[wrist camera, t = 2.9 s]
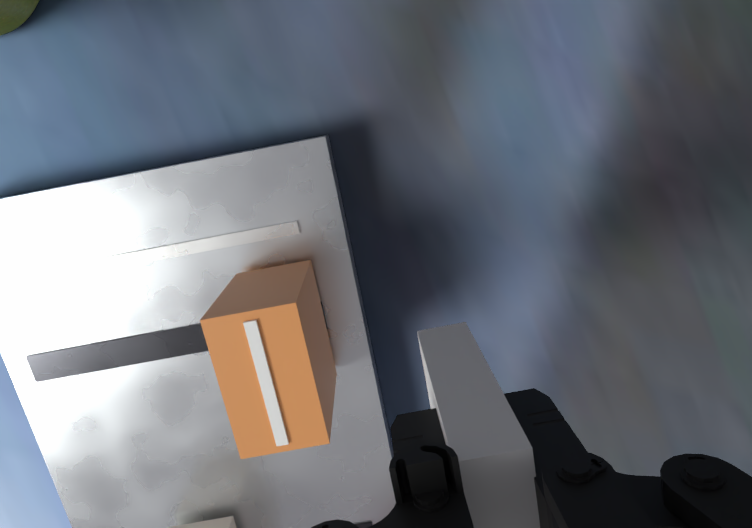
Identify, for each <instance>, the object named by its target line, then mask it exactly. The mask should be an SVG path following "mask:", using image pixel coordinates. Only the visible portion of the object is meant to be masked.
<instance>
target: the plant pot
mask: <svg viewBox="0 0 752 528" xmlns="http://www.w3.org/2000/svg"><path fill="white" fill-rule="evenodd" d="M38 2H39V0H0V35H2V34H5V33H8V32H11V31H13V30H15V29H16V28H18V27H19V26H20V25H22V24H23V23H24V22H25V21H26V20H27V19H28V18H29V16H30V15H31V14H32V12H33V11H34V9H35V8H36V6H37V4H38Z"/></svg>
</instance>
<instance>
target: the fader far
mask: <svg viewBox="0 0 752 528" xmlns="http://www.w3.org/2000/svg"><path fill="white" fill-rule="evenodd" d="M168 528H237V527H236V524H235V521H234V517H233V516H230V517H224V518H218V519H212V520H207V521H201V522H195V523H189V524H184V525H178V526H172V527H168Z"/></svg>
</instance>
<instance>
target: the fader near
mask: <svg viewBox="0 0 752 528" xmlns="http://www.w3.org/2000/svg"><path fill="white" fill-rule="evenodd" d="M200 323H201V326H202V330H203V333H204V336H205V340H206V343H207V347H208V350H209V353H210V357H211V360H212V364H213V367H214V370H215V374H216V377H217V381H218V384H219V387H220V391H221V394H222V398H223V401H224V404H225V408H226V411H227V415H228V418H229V421H230V425H231V428H232V432H233V435H234V438H235V442H236V445H237V449H238V452H239V455H240V459H246V458H251V457H257V456H262V455H268V454H274V453H279V452H285V451H291V450H296V449H302V448H308V447H313V446H319V445H325V444H330V436H331V426H332V416H333V406H334V396H335V386H336V376H337V372H336V368H335V363H334V359H333V354H332V350H331V346H330V341H329V337H328V332H327V328H326V324H325V319H324V315H323V310H322V306H321V302H320V297H319V293H318V288H317V284H316V280H315V275H314V271H313V266H312V262H311V260H307V261H302V262H296V263H291V264H285V265H280V266H275V267H269V268H264V269H259V270H253V271H248V272H243V273H237V274H236V275H235V276H234V277H233V279H232V280H231V281H230V283H229V284H228V285H227V286H226V288H225V289H224V290H223V291H222V293H221V294H220V295H219V297H218V298H217V299H216V300H215V302H214V303H213V304H212V305H211V307H210V308H209V309H208V310H207V312H206V313H205V314H204V316H203V317H202V318H201V319H200Z"/></svg>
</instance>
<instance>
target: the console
mask: <svg viewBox="0 0 752 528" xmlns="http://www.w3.org/2000/svg"><path fill="white" fill-rule="evenodd" d="M307 260H311V262H312V266H313V271H314V275H315V280H316V284H317V288H318V293H319V297H320V302H321V306H322V310H323V315H324V319H325V324H326V328H327V332H328V337H329V341H330V346H331V350H332V354H333V359H334V363H335V368H336V372H337V376H336V386H335V396H334V406H333V416H332V426H331V436H330V444H325V445H319V446H313V447H308V448H302V449H296V450H291V451H285V452H279V453H274V454H268V455H262V456H257V457H251V458H246V459H240V455H239V452H238V449H237V445H236V442H235V438H234V435H233V432H232V428H231V425H230V421H229V418H228V415H227V411H226V408H225V404H224V401H223V398H222V394H221V391H220V387H219V384H218V381H217V377H216V374H215V370H214V367H213V364H212V360H211V357H210V353H209V350H208V347H207V343H206V340H205V336H204V333H203V330H202V326H201V323H200V319H201V318H202V317H203V316H204V314H205V313H206V312H207V310H208V309H209V308H210V307H211V305H212V304H213V303H214V302H215V300H216V299H217V298H218V297H219V295H220V294H221V293H222V291H223V290H224V289H225V288H226V286H227V285H228V284H229V283H230V281H231V280H232V279H233V277H234V276H235V275H236V274H237V273H243V272H248V271H253V270H259V269H264V268H269V267H275V266H280V265H285V264H291V263H296V262H302V261H307ZM0 352H1V354H2V357H3V359H4V362H5V364H6V367H7V369H8V371H9V374H10V376H11V379H12V381H13V384H14V386H15V389H16V391H17V393H18V396H19V398H20V401H21V403H22V406H23V408H24V411H25V413H26V415H27V418H28V420H29V423H30V425H31V428H32V430H33V433H34V435H35V438H36V440H37V442H38V445H39V447H40V450H41V452H42V455H43V457H44V460H45V462H46V464H47V467H48V469H49V472H50V474H51V477H52V479H53V482H54V484H55V487H56V489H57V491H58V494H59V496H60V499H61V501H62V504H63V506H64V509H65V511H66V513H67V516H68V518H69V521H70V523H71V526H72V528H168V527H172V526H178V525H184V524H189V523H195V522H201V521H207V520H212V519H218V518H224V517H230V516H233V517H234V521H235V524H236V527H237V528H311V527H313V526H315V525H317V524H320V523H322V522H324V521H330V520H337V519H338V520H345V521H350V522H352V523H353V524H355V525H356V526H358V527H359V528H368V527H370V526H372V525H374V524H376V523H377V522H379V521H381V520H382V519H383V518H385V517H386V516H387V515H388V514H389V513H390V512H391V510H392V509H393V508H394V506H395V504H396V501H395V496H394V491H393V486H392V482H391V477H390V472H389V466H390V461H391V459H392V458H393V457H394V453H393V447H392V442H391V437H390V432H389V427H388V423H387V418H386V413H385V408H384V403H383V398H382V393H381V388H380V384H379V379H378V374H377V369H376V364H375V359H374V354H373V349H372V344H371V340H370V335H369V330H368V325H367V320H366V315H365V310H364V305H363V301H362V296H361V291H360V286H359V281H358V276H357V271H356V266H355V261H354V257H353V252H352V247H351V242H350V237H349V232H348V227H347V222H346V218H345V213H344V208H343V203H342V198H341V193H340V188H339V183H338V178H337V174H336V169H335V164H334V159H333V154H332V149H331V144H330V139H329V135H323V136H318V137H313V138H307V139H302V140H297V141H292V142H287V143H282V144H276V145H271V146H266V147H261V148H256V149H250V150H245V151H240V152H235V153H230V154H225V155H219V156H214V157H209V158H204V159H199V160H194V161H188V162H183V163H178V164H173V165H168V166H162V167H157V168H152V169H147V170H142V171H137V172H131V173H126V174H121V175H116V176H111V177H106V178H100V179H95V180H90V181H85V182H80V183H74V184H69V185H64V186H59V187H54V188H49V189H43V190H38V191H33V192H28V193H23V194H17V195H12V196H7V197H2V198H0Z"/></svg>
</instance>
